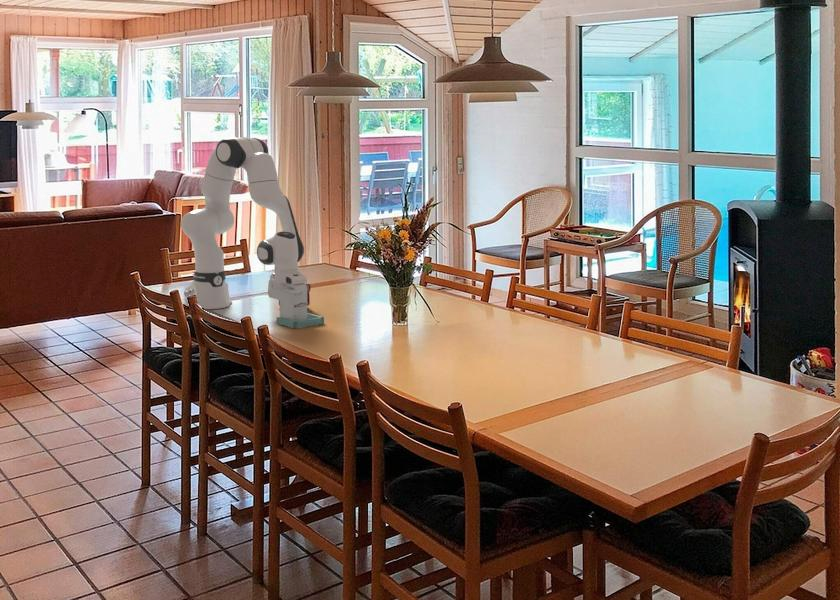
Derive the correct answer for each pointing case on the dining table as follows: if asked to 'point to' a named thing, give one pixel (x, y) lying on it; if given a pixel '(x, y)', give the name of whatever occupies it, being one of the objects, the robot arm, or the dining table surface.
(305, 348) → the dining table surface
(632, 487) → the dining table surface
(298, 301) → the supplement box
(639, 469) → the dining table surface
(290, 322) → the tray
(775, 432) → the dining table surface
